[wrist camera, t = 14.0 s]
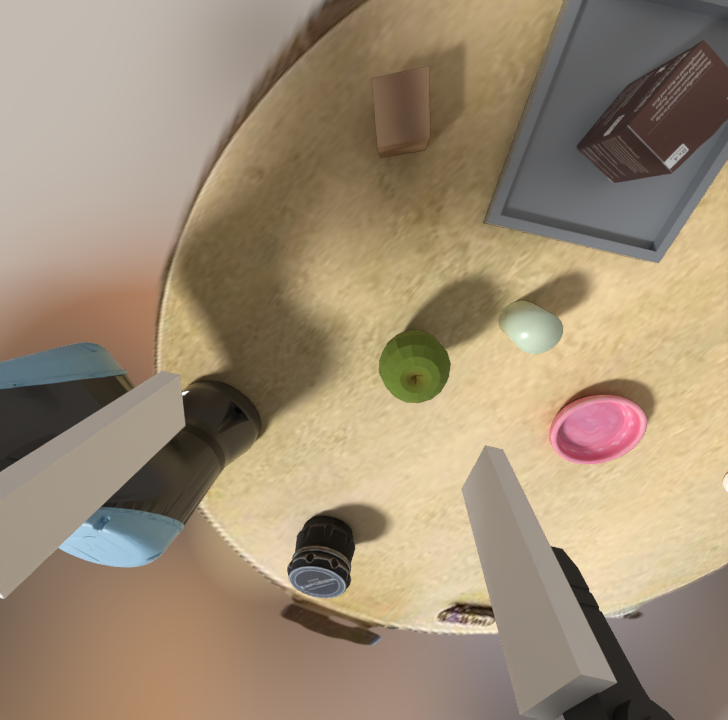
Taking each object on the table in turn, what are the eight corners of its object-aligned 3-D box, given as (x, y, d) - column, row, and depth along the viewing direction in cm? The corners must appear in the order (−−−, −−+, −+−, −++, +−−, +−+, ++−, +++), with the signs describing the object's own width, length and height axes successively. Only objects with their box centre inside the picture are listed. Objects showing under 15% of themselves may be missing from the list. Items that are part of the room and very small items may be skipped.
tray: (483, 222, 33) (487, 222, 31) (574, -29, 24) (587, -47, 22) (646, 261, 33) (659, 262, 31) (796, 24, 24) (825, 10, 23)
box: (628, 82, 26) (707, 34, 20) (669, 125, 27) (756, 93, 21) (573, 148, 29) (626, 125, 22) (612, 186, 30) (674, 174, 23)
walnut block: (379, 158, 31) (377, 147, 27) (374, 101, 29) (371, 78, 25) (424, 150, 31) (430, 137, 26) (423, 91, 28) (428, 65, 24)
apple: (436, 371, 42) (450, 418, 32) (380, 368, 43) (376, 413, 32) (443, 315, 38) (462, 349, 28) (382, 313, 39) (379, 345, 29)
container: (339, 556, 65) (331, 608, 56) (291, 534, 63) (274, 584, 55) (367, 529, 60) (363, 582, 51) (315, 504, 58) (301, 555, 49)
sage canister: (492, 331, 39) (508, 348, 33) (508, 296, 36) (528, 308, 31) (527, 339, 39) (549, 358, 33) (545, 305, 36) (571, 318, 31)
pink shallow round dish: (546, 456, 47) (555, 471, 44) (538, 398, 43) (548, 410, 40) (630, 442, 44) (646, 456, 42) (632, 377, 40) (650, 389, 37)
